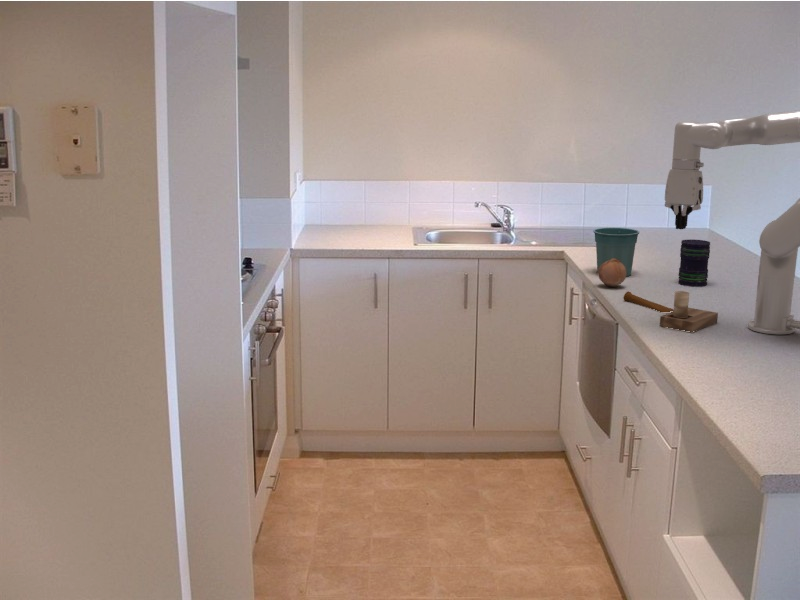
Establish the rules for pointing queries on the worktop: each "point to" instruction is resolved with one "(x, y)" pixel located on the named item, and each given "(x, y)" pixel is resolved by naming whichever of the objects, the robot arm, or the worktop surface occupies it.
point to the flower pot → (616, 246)
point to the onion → (612, 272)
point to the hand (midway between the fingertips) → (680, 228)
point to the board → (690, 320)
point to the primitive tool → (645, 302)
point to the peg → (681, 305)
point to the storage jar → (694, 263)
